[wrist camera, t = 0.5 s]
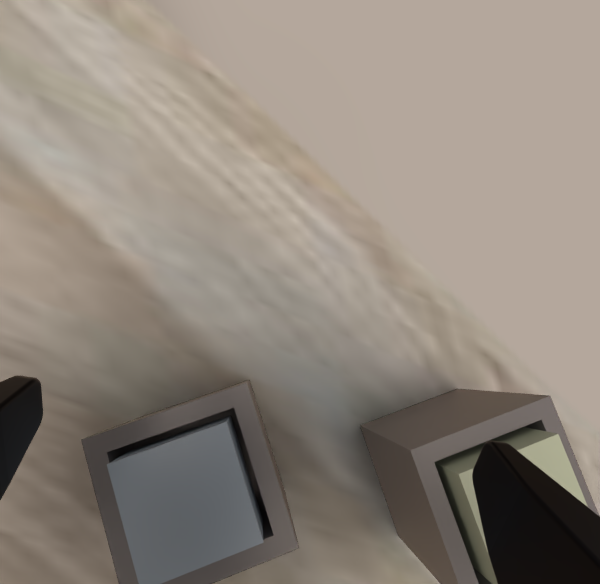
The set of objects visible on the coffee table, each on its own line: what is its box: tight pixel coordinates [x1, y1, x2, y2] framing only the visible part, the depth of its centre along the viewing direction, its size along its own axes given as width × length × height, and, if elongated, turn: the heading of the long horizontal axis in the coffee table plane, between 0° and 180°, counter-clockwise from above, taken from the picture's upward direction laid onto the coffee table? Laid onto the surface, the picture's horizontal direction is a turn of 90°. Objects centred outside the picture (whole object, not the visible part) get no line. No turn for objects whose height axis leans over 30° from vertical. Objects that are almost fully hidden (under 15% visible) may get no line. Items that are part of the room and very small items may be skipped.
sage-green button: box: [434, 427, 588, 584], centre depth 17 cm, size 4×4×2 cm
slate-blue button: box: [107, 416, 264, 584], centre depth 16 cm, size 4×4×2 cm
